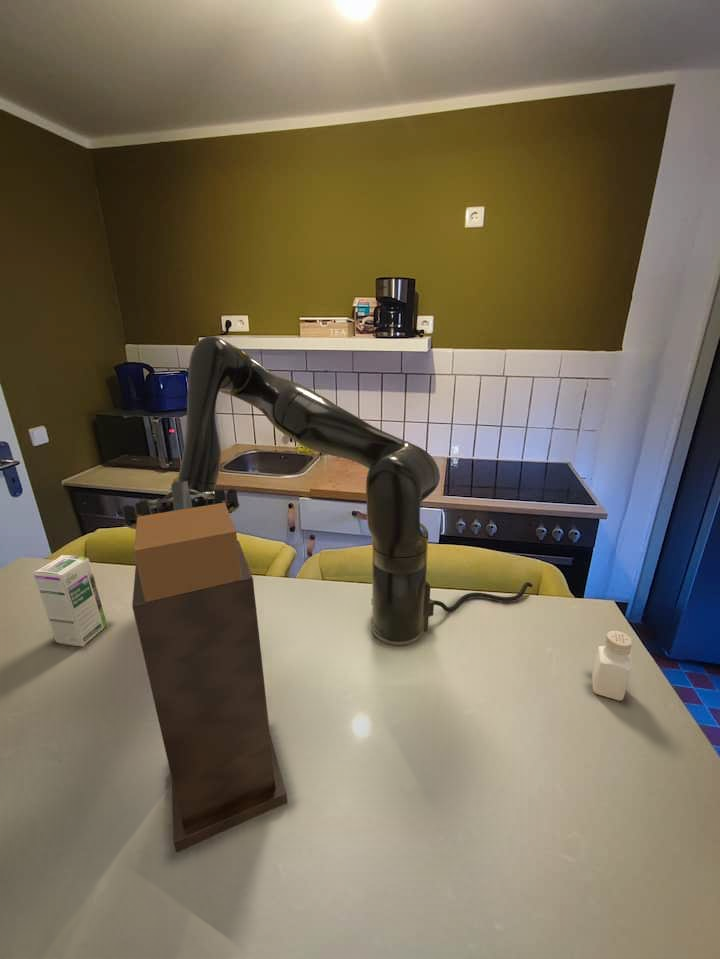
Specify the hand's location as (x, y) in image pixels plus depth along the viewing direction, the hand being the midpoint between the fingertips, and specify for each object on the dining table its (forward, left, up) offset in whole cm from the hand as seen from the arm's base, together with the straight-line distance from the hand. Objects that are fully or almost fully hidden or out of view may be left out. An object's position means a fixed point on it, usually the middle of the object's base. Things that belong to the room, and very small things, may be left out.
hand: (182, 500), depth 52 cm
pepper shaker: (-54, +23, -32) cm, 67 cm away
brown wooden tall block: (0, +14, -32) cm, 35 cm away
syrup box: (+20, -24, -32) cm, 45 cm away
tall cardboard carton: (0, +6, -2) cm, 6 cm away
